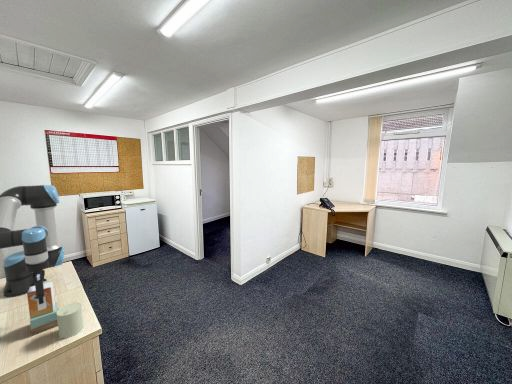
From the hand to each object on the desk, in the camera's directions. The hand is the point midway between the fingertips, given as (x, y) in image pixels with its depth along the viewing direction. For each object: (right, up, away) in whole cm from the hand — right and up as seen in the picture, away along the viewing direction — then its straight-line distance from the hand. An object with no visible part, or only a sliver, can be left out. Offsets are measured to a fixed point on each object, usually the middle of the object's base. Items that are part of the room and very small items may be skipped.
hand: (42, 301), depth 102 cm
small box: (0, -5, 0) cm, 5 cm away
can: (+15, -14, -1) cm, 20 cm away
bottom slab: (0, -13, +2) cm, 13 cm away
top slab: (0, -9, +1) cm, 9 cm away
